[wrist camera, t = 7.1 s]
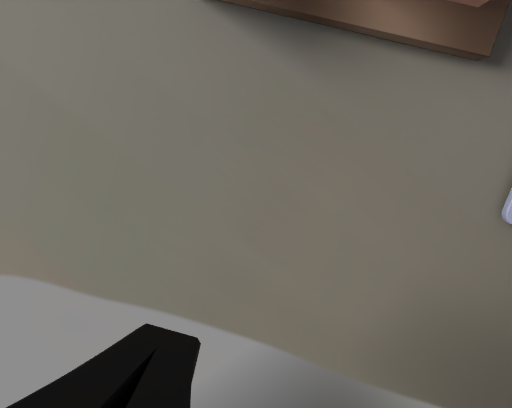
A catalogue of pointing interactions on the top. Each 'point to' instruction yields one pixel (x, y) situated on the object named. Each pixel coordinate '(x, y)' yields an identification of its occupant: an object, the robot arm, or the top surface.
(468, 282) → the top surface
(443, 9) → the cargo strip
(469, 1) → the terracotta block
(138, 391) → the robot arm
